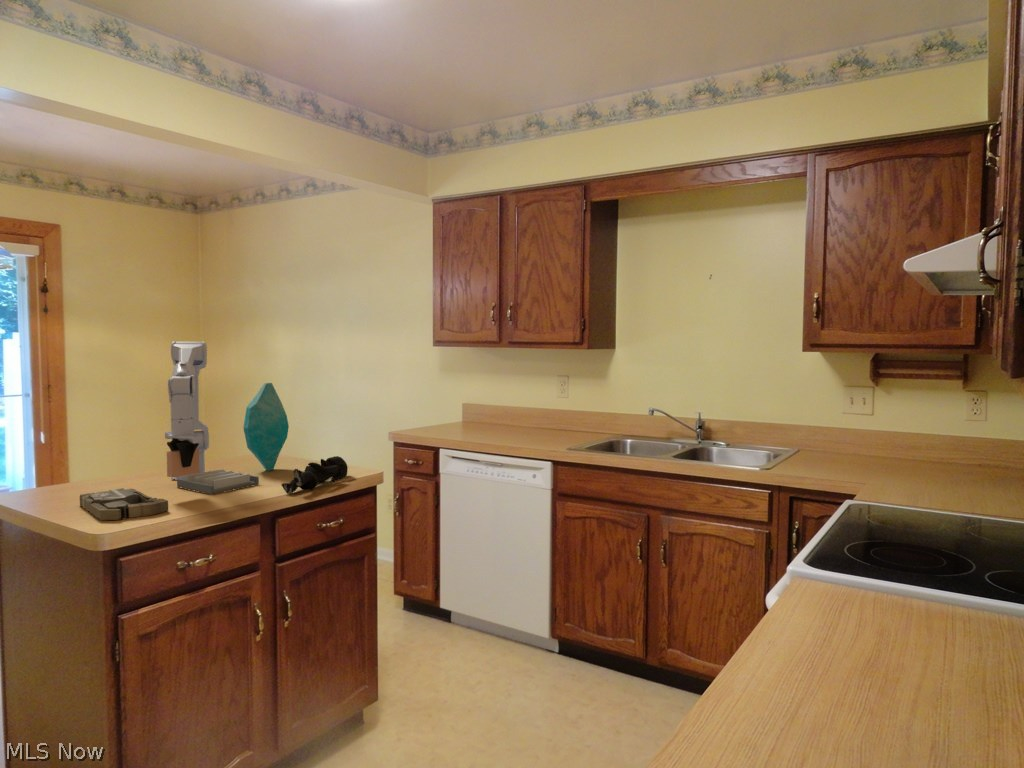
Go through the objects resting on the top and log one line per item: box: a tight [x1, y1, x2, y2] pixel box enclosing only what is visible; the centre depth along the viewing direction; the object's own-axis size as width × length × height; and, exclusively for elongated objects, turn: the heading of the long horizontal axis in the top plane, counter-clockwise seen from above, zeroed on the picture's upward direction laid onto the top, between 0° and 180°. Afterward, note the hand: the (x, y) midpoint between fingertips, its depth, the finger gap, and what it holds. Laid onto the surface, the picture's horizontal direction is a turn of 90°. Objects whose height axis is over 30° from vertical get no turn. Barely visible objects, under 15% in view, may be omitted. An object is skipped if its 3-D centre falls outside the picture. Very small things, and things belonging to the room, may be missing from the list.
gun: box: [79, 487, 169, 521], centre depth 171 cm, size 4×24×15 cm
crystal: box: [242, 382, 289, 472], centre depth 222 cm, size 12×14×30 cm
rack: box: [176, 468, 260, 495], centre depth 199 cm, size 17×16×4 cm
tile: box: [166, 448, 199, 478], centre depth 184 cm, size 2×8×7 cm, turn 148°
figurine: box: [280, 455, 348, 495], centre depth 202 cm, size 8×30×8 cm, turn 162°
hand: (183, 466), depth 184 cm, fingers closed on tile, 2 cm apart
